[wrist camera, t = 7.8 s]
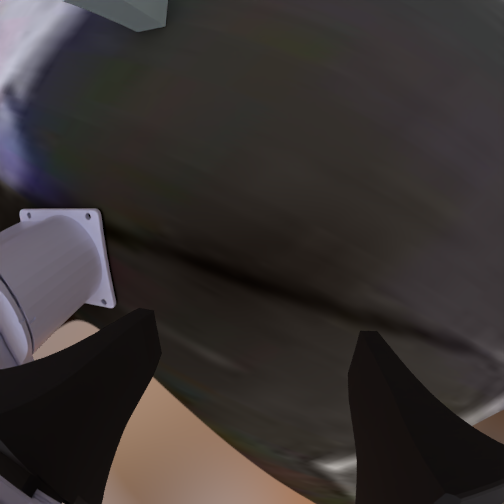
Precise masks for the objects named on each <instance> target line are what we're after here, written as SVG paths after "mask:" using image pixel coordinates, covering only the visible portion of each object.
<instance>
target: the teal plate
mask: <svg viewBox="0 0 504 504" xmlns="http://www.w3.org/2000/svg"><path fill="white" fill-rule="evenodd" d="M63 1H64V2H67V3H70V4H73V5H75V6H78V7H81V8H83V9H86V10H88V11H91V12H93V13H96V14H98V15H100V16H103V17H105V18H107V19H110V20H112V21H114V22H117V23H119V24H121V25H123V26H125V27H127V28H130V29H132V30H134V31H136V32H141V31H146V30H150V29H155V28H161V27H166V16H167V5H168V0H63Z"/></svg>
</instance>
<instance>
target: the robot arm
mask: <svg viewBox="0 0 504 504" xmlns="http://www.w3.org/2000/svg"><path fill="white" fill-rule="evenodd" d="M30 214H31V215H30ZM88 214H90V216H91V218H90V217H89V215H88ZM20 220H21V222H20V223H17V224H15V225H13V226H11V227H9V228H7V229H5V230H3V231H1V232H0V504H61V503H64V504H102V500H103V495H104V490H105V486H106V482H107V479H108V475H109V471H110V468H111V465H112V461H113V458H114V456H115V452H116V450H117V447H118V444H119V442H120V439H121V436H122V434H123V431H124V429H125V427H126V424H127V422H128V420H129V419H130V417H131V415H132V413H133V411H134V409H135V408H136V406H137V404H138V402H139V401H140V399H141V397H142V395H143V393H144V391H145V390H146V388H147V386H148V384H149V383H150V381H151V379H152V377H153V375H154V372H155V370H156V367H157V365H158V362H159V359H160V357H161V354H162V352H161V347H160V342H159V337H158V332H157V326H156V321H155V315H154V310H147V309H141V308H139V309H136V310H134V311H133V312H131V313H129V314H127V315H125V316H124V317H122V318H120V319H119V320H117V321H115V322H113V323H112V324H110V325H108V326H107V327H105V328H103V329H101V330H100V331H98V332H96V333H95V334H93V335H91V336H89V337H87V338H85V339H84V340H81V341H80V342H78V343H76V344H74V345H72V346H70V347H68V348H66V349H64V350H61V351H59V352H57V353H54V354H52V355H49V356H47V357H45V358H41V359H38V360H35V361H34V359H33V356H32V355H33V353H34V352H35V351H36V350H37V349H38V348H39V347H40V346H41V345H42V344H43V343H44V342H45V341H46V340H47V339H48V338H49V337H50V336H51V335H52V334H53V333H54V332H55V331H56V330H57V329H58V328H59V327H60V326H61V325H62V324H63V323H64V322H65V321H66V320H67V319H68V318H69V317H70V316H71V315H72V314H73V313H74V312H76V311H77V310H78V309H79V308H80V307H81V306H82V305H83V304H84V303H88V304H92V305H97V306H102V307H107V308H113V307H114V306H115V305H116V299H115V294H114V289H113V284H112V279H111V274H110V269H109V263H108V257H107V251H106V245H105V238H104V231H103V224H102V216H101V212H100V211H99V210H98V209H95V208H40V209H22V210H21V211H20ZM104 300H105V301H106V302H105V301H104ZM348 392H349V404H350V411H351V418H352V424H353V431H354V439H355V446H356V457H357V484H356V502H355V504H502V503H503V502H504V444H502V443H499V442H497V441H496V440H494V439H492V438H490V437H489V436H487V435H485V434H483V433H482V432H480V431H478V430H477V429H475V428H474V427H472V426H471V425H469V424H468V423H467V422H465V421H464V420H462V419H461V418H460V417H458V416H457V415H456V414H454V413H453V412H452V411H451V410H449V409H448V408H447V407H446V406H445V405H444V404H442V403H441V402H440V401H439V400H438V399H437V398H436V397H435V396H434V395H432V394H431V393H430V392H429V391H428V390H427V389H426V388H425V386H424V385H423V384H422V383H421V382H420V381H419V380H418V379H417V378H416V377H415V376H414V375H413V374H412V373H411V371H410V370H409V369H408V368H407V367H406V366H405V365H404V363H403V362H402V361H401V360H400V359H399V357H398V356H397V355H396V354H395V353H394V351H393V350H392V349H391V348H390V346H389V345H388V344H387V343H386V341H385V340H384V339H383V338H382V337H381V335H380V334H379V333H378V332H377V331H360V333H359V337H358V341H357V345H356V348H355V352H354V355H353V359H352V362H351V365H350V369H349V372H348Z"/></svg>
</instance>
